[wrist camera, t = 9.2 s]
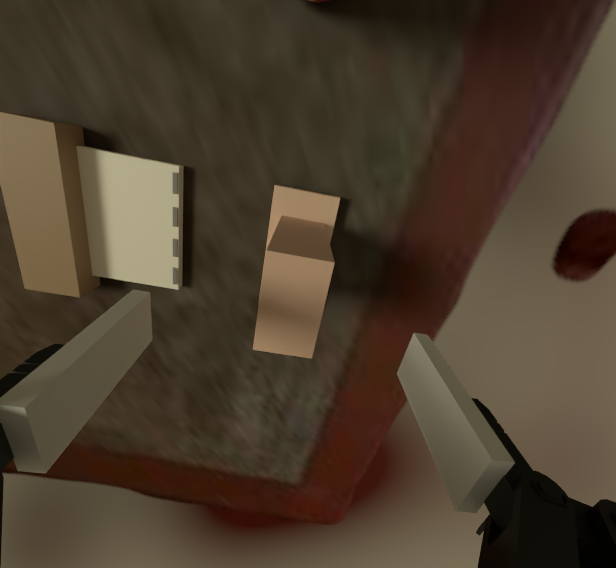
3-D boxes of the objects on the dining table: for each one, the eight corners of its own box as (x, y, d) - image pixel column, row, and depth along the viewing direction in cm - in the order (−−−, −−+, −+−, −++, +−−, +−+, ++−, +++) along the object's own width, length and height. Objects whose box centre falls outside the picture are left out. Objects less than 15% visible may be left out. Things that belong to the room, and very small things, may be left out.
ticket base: (45, 276, 30) (19, 287, 27) (13, 113, 24) (-25, 106, 21) (182, 297, 31) (169, 311, 28) (183, 147, 25) (168, 146, 22)
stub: (260, 298, 31) (234, 376, 20) (275, 184, 26) (253, 202, 15) (314, 307, 31) (318, 388, 20) (339, 196, 26) (362, 223, 16)
